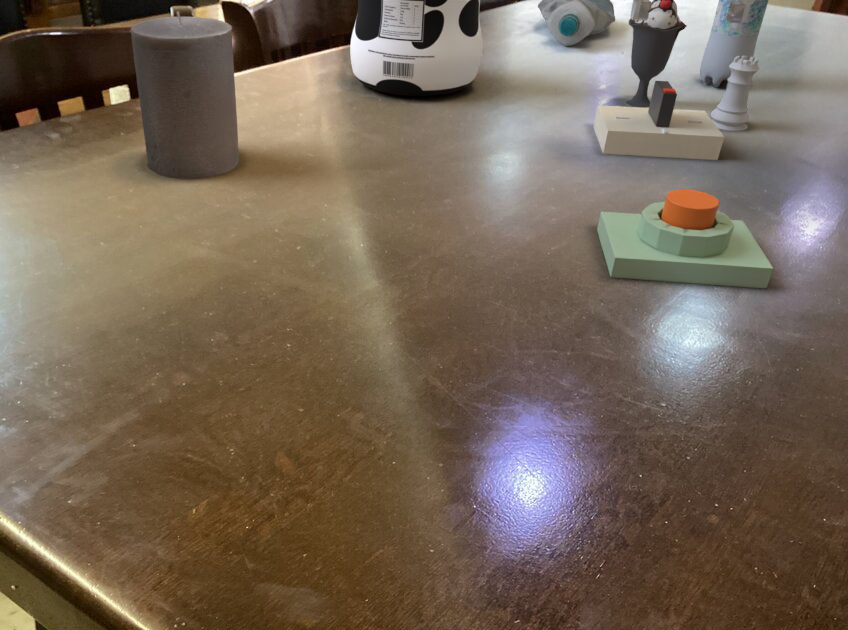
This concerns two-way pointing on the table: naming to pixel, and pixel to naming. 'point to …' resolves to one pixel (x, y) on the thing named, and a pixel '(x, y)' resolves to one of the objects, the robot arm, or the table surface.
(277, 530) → the table surface
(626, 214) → the button block
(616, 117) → the cream flat block
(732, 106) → the rook chess piece
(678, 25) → the sundae
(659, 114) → the black plate
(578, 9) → the detergent
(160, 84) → the pillar candle
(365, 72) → the milk container
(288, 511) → the table surface
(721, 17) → the bottle
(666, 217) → the button
